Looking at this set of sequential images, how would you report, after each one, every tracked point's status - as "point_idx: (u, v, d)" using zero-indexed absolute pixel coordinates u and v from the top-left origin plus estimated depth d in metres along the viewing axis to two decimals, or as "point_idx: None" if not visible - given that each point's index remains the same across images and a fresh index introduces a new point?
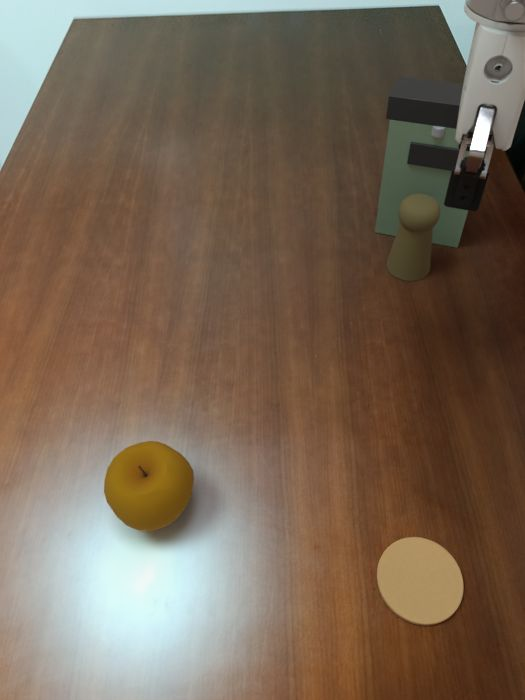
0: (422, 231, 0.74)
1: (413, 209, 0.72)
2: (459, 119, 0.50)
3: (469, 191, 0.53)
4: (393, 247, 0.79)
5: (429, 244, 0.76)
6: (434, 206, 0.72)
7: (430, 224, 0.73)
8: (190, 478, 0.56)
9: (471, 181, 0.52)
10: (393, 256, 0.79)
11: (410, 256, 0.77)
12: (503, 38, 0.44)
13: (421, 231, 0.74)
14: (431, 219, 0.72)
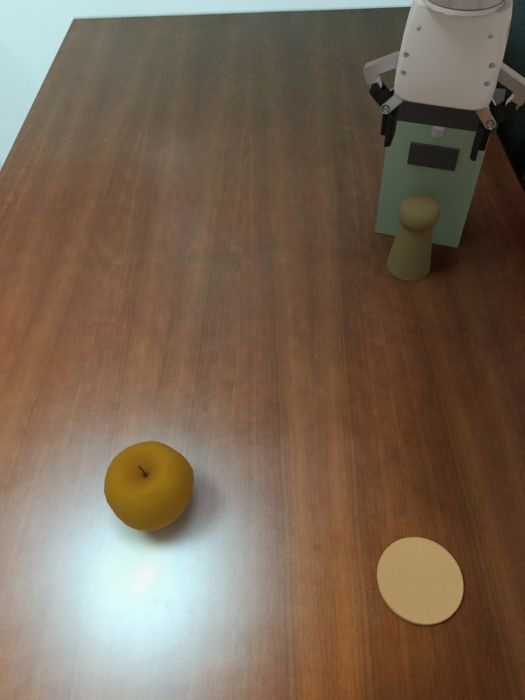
0: (422, 231, 0.74)
1: (413, 209, 0.72)
2: (490, 89, 0.58)
3: None
4: (393, 247, 0.79)
5: (429, 244, 0.76)
6: (434, 207, 0.72)
7: (430, 224, 0.73)
8: (190, 478, 0.56)
9: None
10: (393, 256, 0.79)
11: (410, 256, 0.77)
12: (510, 8, 0.53)
13: (421, 231, 0.74)
14: (431, 219, 0.72)
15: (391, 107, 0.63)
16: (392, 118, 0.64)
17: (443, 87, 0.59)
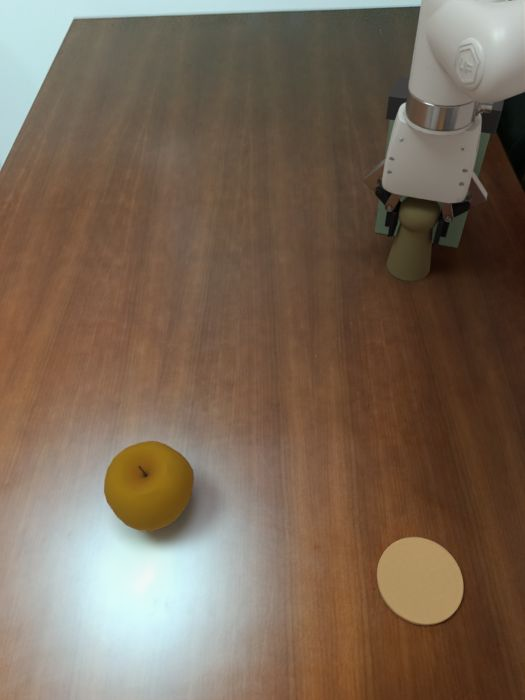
0: (422, 231, 0.74)
1: (413, 209, 0.72)
2: (464, 188, 0.67)
3: None
4: (393, 247, 0.79)
5: (429, 244, 0.76)
6: (434, 206, 0.72)
7: (430, 224, 0.73)
8: (190, 478, 0.56)
9: None
10: (393, 256, 0.79)
11: (410, 256, 0.77)
12: (479, 125, 0.63)
13: (421, 231, 0.74)
14: (431, 219, 0.72)
15: (394, 206, 0.73)
16: (395, 215, 0.74)
17: (424, 185, 0.68)
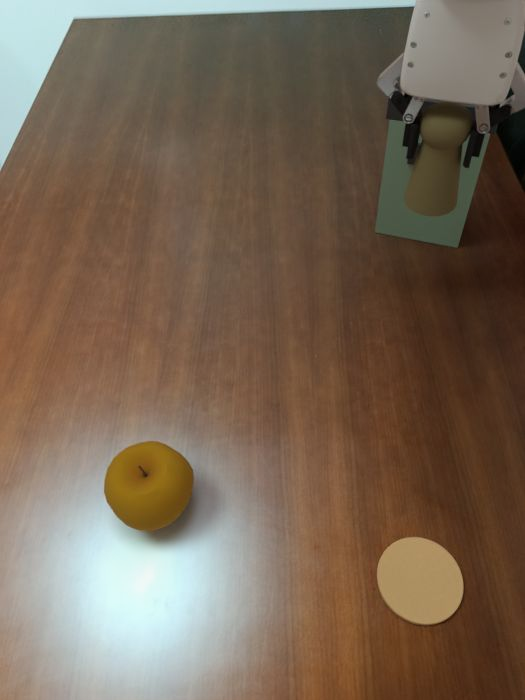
0: (450, 147, 0.59)
1: (439, 118, 0.58)
2: (507, 81, 0.52)
3: None
4: (412, 174, 0.64)
5: (457, 167, 0.62)
6: (465, 115, 0.58)
7: (460, 138, 0.58)
8: (190, 478, 0.56)
9: None
10: (413, 185, 0.64)
11: (434, 183, 0.62)
12: None
13: (448, 147, 0.59)
14: (462, 129, 0.57)
15: (415, 116, 0.58)
16: (416, 128, 0.59)
17: (454, 81, 0.54)
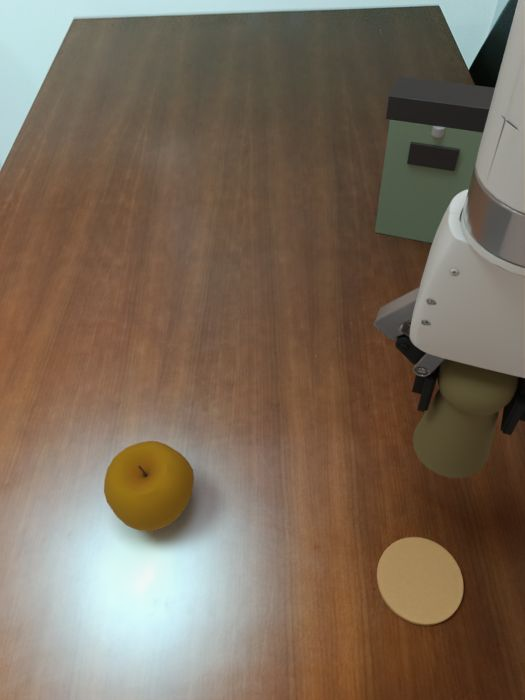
0: None
1: (468, 380, 0.38)
2: None
3: None
4: (426, 422, 0.44)
5: (493, 427, 0.42)
6: (509, 375, 0.38)
7: (500, 407, 0.38)
8: (190, 478, 0.56)
9: None
10: (426, 438, 0.45)
11: (458, 446, 0.42)
12: None
13: None
14: (503, 398, 0.38)
15: (431, 371, 0.39)
16: (432, 383, 0.40)
17: (495, 352, 0.34)
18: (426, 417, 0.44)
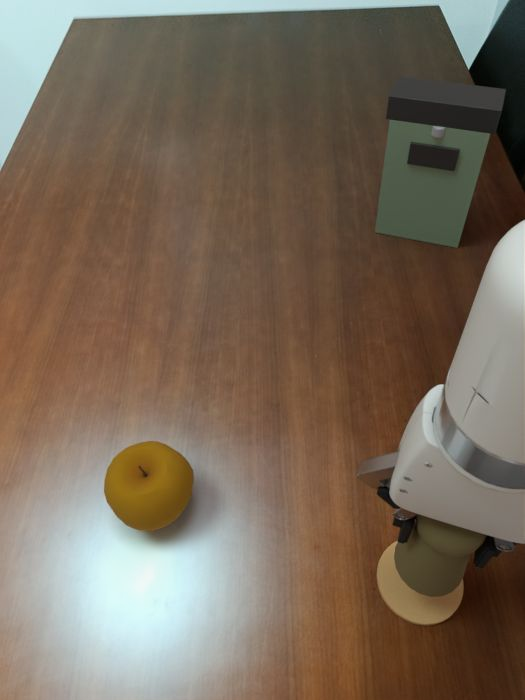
0: None
1: (443, 530, 0.42)
2: None
3: None
4: (406, 548, 0.48)
5: (467, 558, 0.46)
6: None
7: (472, 551, 0.42)
8: (190, 478, 0.56)
9: None
10: (406, 562, 0.48)
11: (435, 574, 0.46)
12: None
13: None
14: (475, 545, 0.42)
15: (409, 517, 0.42)
16: (411, 526, 0.43)
17: (466, 519, 0.38)
18: (406, 543, 0.48)
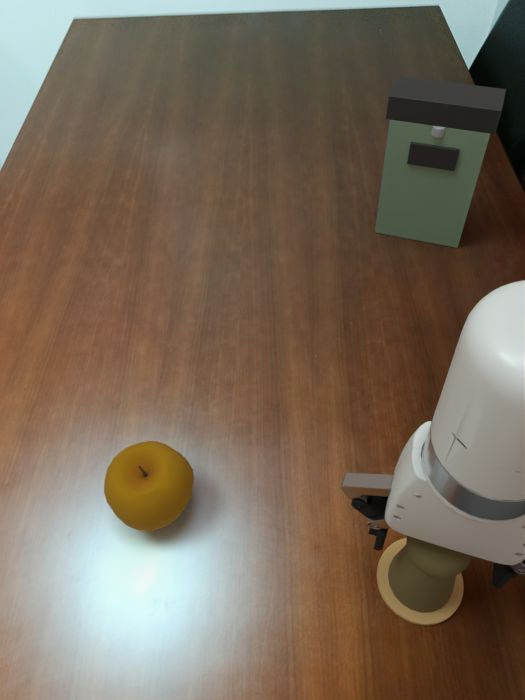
0: None
1: (430, 554, 0.46)
2: (524, 557, 0.40)
3: None
4: (398, 568, 0.52)
5: (454, 578, 0.50)
6: None
7: (457, 573, 0.46)
8: (190, 478, 0.56)
9: None
10: (399, 581, 0.52)
11: (425, 593, 0.50)
12: None
13: None
14: (460, 568, 0.46)
15: (382, 526, 0.45)
16: (384, 535, 0.46)
17: (454, 542, 0.41)
18: (398, 563, 0.52)
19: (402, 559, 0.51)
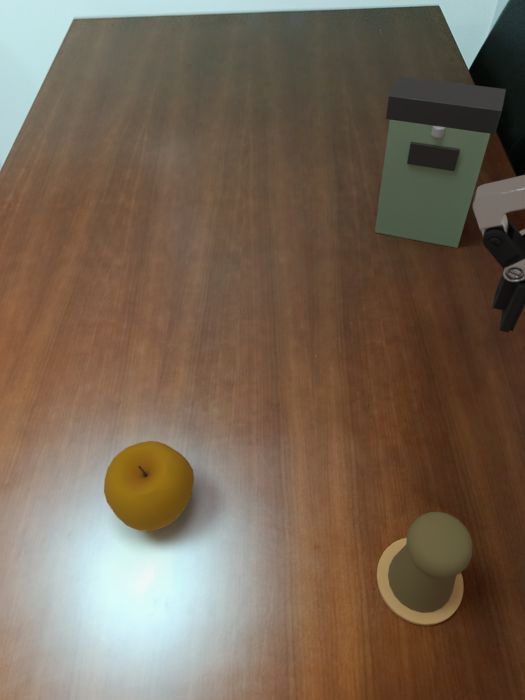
0: None
1: (430, 554, 0.46)
2: None
3: None
4: (398, 568, 0.52)
5: (454, 578, 0.50)
6: (464, 548, 0.46)
7: (457, 573, 0.46)
8: (190, 478, 0.56)
9: None
10: (399, 581, 0.52)
11: (425, 593, 0.50)
12: None
13: None
14: (460, 568, 0.46)
15: None
16: None
17: None
18: (398, 563, 0.52)
19: (402, 559, 0.51)
